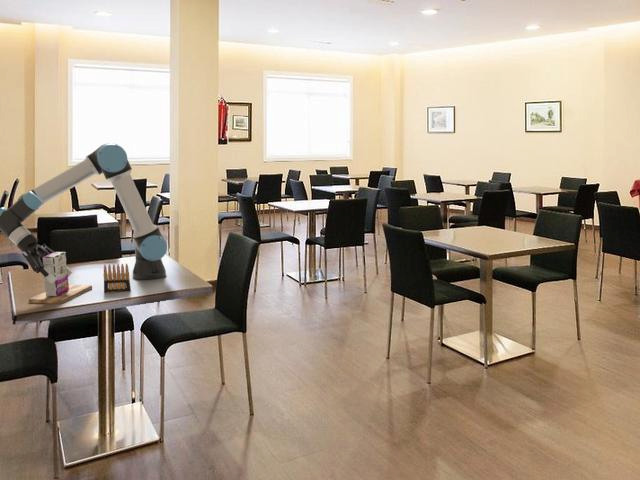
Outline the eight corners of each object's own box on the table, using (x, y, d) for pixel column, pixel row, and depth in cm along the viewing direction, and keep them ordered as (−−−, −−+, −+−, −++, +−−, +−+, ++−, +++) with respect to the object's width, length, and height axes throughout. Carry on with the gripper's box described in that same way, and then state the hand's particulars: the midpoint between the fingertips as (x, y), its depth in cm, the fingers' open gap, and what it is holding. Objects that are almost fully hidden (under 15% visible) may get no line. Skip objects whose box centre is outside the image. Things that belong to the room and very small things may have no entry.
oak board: (92, 288, 263) (91, 285, 263) (62, 303, 240) (61, 299, 239) (61, 288, 265) (61, 284, 265) (29, 302, 241) (28, 298, 241)
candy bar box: (57, 290, 254) (54, 251, 252) (69, 290, 254) (66, 251, 252) (44, 296, 243) (41, 256, 241) (57, 296, 243) (54, 256, 241)
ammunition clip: (130, 290, 260) (129, 262, 258) (130, 291, 258) (128, 263, 256) (104, 291, 258) (102, 263, 256) (104, 292, 257) (102, 264, 255)
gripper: (35, 241, 259) (72, 277, 260) (0, 251, 236) (40, 291, 237) (46, 229, 258) (83, 265, 258) (11, 238, 235) (52, 278, 235)
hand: (62, 277), depth 248 cm, fingers closed on candy bar box, 11 cm apart
